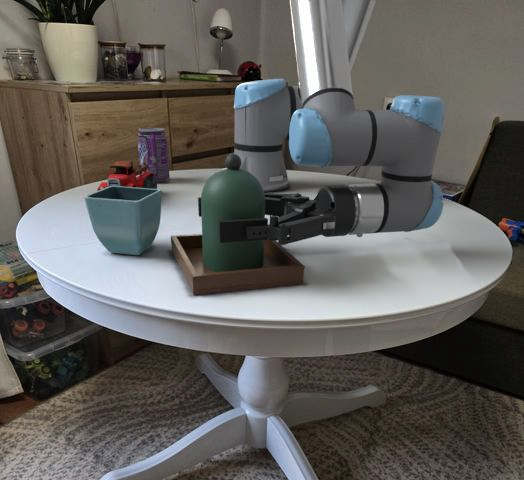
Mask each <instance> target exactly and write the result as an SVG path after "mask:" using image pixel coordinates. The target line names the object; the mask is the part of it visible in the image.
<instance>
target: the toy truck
mask: <svg viewBox="0 0 524 480" xmlns="http://www.w3.org/2000/svg"><path fill="white" fill-rule="evenodd" d="M148 168H149V166H148V165H146V162H144V167H142V168H141V165H140V164H138V169H137V170H136V168H135V167H134V162H133V161H128V160H117V161H115V162H114V164H111V165H109V175H108V177H107V180H106V181H102V182H100V184H99V186H98V187H97V190H96V192H97V191H99V190H102V189H104V188H107V187H110V186H123V187H136V188H149V189H158V183H157V180H156V177H155V176H154V174H153V173H152V172H147V169H148ZM112 169H115V172H113V173H112ZM142 172H144V173H142Z"/></svg>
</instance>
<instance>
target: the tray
mask: <svg viewBox="0 0 524 480" xmlns="http://www.w3.org/2000/svg"><path fill="white" fill-rule="evenodd" d="M170 249H171V253H172V255H173V257H174V259H175V261H176V263H177V265H178V267H179V269H180V271H181V273H182V275H183V277H184V279H185V281H186V283H187V285H188V287H189V289H190V291H191V293H192V295H193V296H197V295H199V296H200V295H208V294H217V293H227V292H236V291H244V290H246V291H247V290H254V289H263V288H265V289H266V288H275V287H284V286H295V285H303V284H304V282H305V281H304V280H305V267H306V266H305V264H303V263H301V261H299V260H298V259H297V258H296V257H295V256H294V255H293V254H292V253H291V252H290V251H288V250H287V249H286V248H285V247H284V245H281V244H278V240H277V241H272V240H269V238H267V239H266V240H264V256H263V266H262V267H261V268H258V269H247V270H236V271H225V272H215V271H212V270H209V269H208V268H206V267H205V266H204V265H203V247H202V233H193V234H191V233H190V234H177V235H170Z"/></svg>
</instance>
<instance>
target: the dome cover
mask: <svg viewBox="0 0 524 480" xmlns="http://www.w3.org/2000/svg"><path fill="white" fill-rule="evenodd" d="M224 165H225V168H222V169H219V170H217V171H216V172H214V173H213V174H212V175H210V176H209V177H208V179H207V180H206V182H205V183H204V185H203V188H202V190H201V195H200V197H201V217H200V218H201V234H202V247H203V265H204V266H205V267H206V268H208V269H209V270H212V271H215V272H225V271H236V270H247V269H258V268H261V267H262V266H263V256H264V240H253V241H239V242H226V243H220V242H219V222H218V221H223V220H239V219H256V218H266V215H265V194H264V193H265V192H264V191H263V188H262V186H261V184H260V182H259V181H258V180H257V178H256V177H255V176H254V175H252V174H251V173H250V172H248V171H246V170H244V169H241V168H240V167H241V159H240V157H239V156H238V155H236V154H234V153H230V154H228V155H227V156H226V157H225V160H224Z"/></svg>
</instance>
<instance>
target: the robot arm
mask: <svg viewBox="0 0 524 480" xmlns="http://www.w3.org/2000/svg"><path fill="white" fill-rule="evenodd" d="M377 2H378V0H289V5H290V14H291V21H292V22H291V23H292V31H293V41H294V48H295V57H296V66H297V76H298V85H287V82H286V80H285V79H284V78H271V79H270V78H269V79H261V80H253V81H247V82H243V83H242V82H241V83H240V84H239V85H237V86H236V88H235V91H234V102H233V103H234V104H233V109H234V149H233V150H234V152H233V154H236V155H238V156H239V157H240V159H241V167H240V168H241V169H244V170H246V171H248V172H250V173H251V174H252V175H254V176H255V177H256V178H257V180H258V181H259V182H260V184H261V186H262V188H263V191H264V194H265V216H269V219H268V218H267V217H265V218H256V219H239V220H223V221H218V222H219V242H220V243H226V242H239V241H253V240H266V239H267V238H269V240H272V241H277V242H278V244H280V245H282V246H285V245H289V244H294V243H296V242H301V241H304V240H308V239H312V238H315V237H318V236H323V237H325V238H332V237H345V236H347V235H349V236H354V235H355V236H356V237H357V238H363V235H365V234H379V233H380V234H381V233H399V232H402V233H403V232H405V233H408V232H409V233H410V232H415V231H420V230H424V229H428V228H429V229H430V228H431V227H433V226H434V225H435V224H436V223H438V221H439V220H440V217H442V213H443V210H444V205H445V204H444V202H443V196H444V195H443V191H442V189H441V187H440V185H439V184H437V183H436V182H435V181H433V170H434V164H435V161H436V157H437V152H438V148H439V143H440V139H441V136H442V134H443V125H444V119H445V109H446V108H445V107H446V106H445V102H444V100H443V99H442V98H441V97H437V96H429V95H428V96H427V95H410V94H409V95H408V94H405V95H402V94H401V95H396V96H395V97H394V98H393V99H392V103H391V105H390V107H389V109H356V106H355V105H356V104H355V100H354V99H355V98H354V91H353V83H352V75H351V73H352V69H353V66H354V64H355V61H356V58H357V56H358V54H359V51H360V48H361V45H362V43H363V40H364V38H365V34H366V32H367V29H368V27H369V24H370V21H371V19H372V16H373V13H374V11H375V7H376V5H377ZM284 141H288V149H289V154H290V158H291V159H292V161H293V163H294V164H296V165H298V166H303V167H314V168H322V169H324V168H327V167H381V168H382V174H381V173H380V176H381V175H382V179H381V178H380V182H378V183H373V182H370V183H369V182H367V183H349V184H347V185H346V184H328V185H323V186H322V187H320V188H319V190H318V192H317V194H316V195H315V197H314V198H313V199H311V198H310V197H309V196H306V195H303V194H302V193H299V192H297V193H276V192H278V191H283V190H285V189H286V188H288V186H289V175H288V172H287V168H286V164H285V160H284V155H283V144H284ZM382 166H383V167H382ZM197 205H198V207H197V209H198V210H197V211H198V216H199V217H200V218H202V217H201V196H199V197H197ZM199 217H198V218H199Z"/></svg>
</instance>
